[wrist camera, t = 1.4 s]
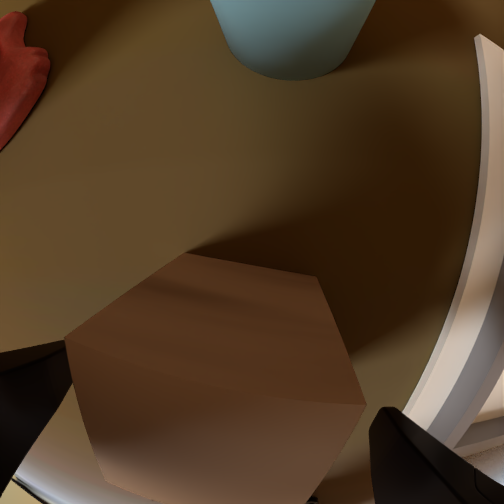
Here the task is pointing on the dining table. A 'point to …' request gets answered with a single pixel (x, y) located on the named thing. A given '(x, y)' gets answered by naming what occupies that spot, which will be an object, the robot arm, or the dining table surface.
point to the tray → (474, 302)
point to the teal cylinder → (291, 34)
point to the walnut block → (216, 385)
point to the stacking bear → (18, 74)
